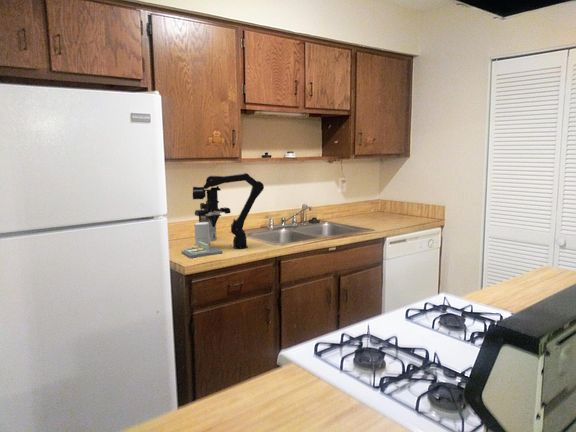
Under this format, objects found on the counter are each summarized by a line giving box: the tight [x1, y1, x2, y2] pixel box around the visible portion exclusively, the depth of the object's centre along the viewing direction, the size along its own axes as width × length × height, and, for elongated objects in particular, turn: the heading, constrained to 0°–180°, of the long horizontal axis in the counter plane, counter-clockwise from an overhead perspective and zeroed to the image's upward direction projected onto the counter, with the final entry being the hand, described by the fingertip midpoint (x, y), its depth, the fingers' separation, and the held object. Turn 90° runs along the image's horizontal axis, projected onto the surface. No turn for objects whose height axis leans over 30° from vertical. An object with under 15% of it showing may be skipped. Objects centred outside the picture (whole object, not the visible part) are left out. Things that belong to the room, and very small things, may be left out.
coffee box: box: [198, 214, 217, 242], centre depth 256 cm, size 9×6×16 cm
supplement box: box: [194, 221, 211, 246], centre depth 243 cm, size 7×7×13 cm
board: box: [181, 245, 223, 259], centre depth 222 cm, size 18×13×4 cm
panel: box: [183, 241, 210, 255], centre depth 220 cm, size 9×12×4 cm
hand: (213, 227), depth 231 cm, fingers closed
